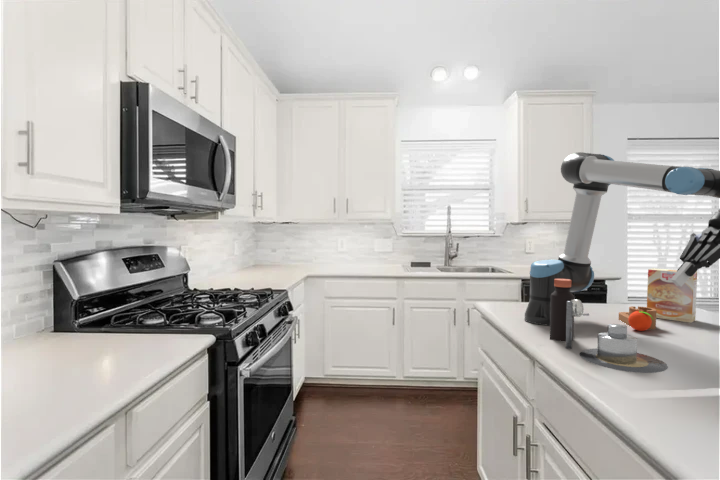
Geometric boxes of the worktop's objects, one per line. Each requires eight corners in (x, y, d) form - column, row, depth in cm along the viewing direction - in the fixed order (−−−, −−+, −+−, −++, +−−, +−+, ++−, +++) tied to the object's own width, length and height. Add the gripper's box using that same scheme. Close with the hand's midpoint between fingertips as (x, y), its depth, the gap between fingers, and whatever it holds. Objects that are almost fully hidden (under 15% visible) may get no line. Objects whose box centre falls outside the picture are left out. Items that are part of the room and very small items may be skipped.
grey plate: (564, 353, 121) (564, 349, 121) (628, 351, 123) (628, 347, 123) (613, 378, 101) (613, 373, 101) (688, 375, 103) (688, 371, 103)
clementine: (659, 332, 145) (659, 312, 145) (647, 334, 142) (648, 314, 142) (635, 327, 153) (635, 308, 152) (623, 329, 149) (624, 309, 149)
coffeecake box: (646, 316, 171) (647, 269, 170) (650, 314, 175) (652, 267, 175) (692, 323, 160) (694, 272, 159) (695, 320, 164) (697, 271, 164)
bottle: (550, 343, 131) (551, 280, 130) (549, 338, 137) (550, 277, 136) (574, 346, 128) (576, 281, 127) (572, 340, 134) (573, 278, 134)
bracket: (660, 330, 149) (660, 311, 149) (634, 329, 151) (634, 310, 150) (638, 319, 166) (638, 302, 166) (615, 318, 168) (615, 301, 168)
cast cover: (590, 353, 117) (591, 321, 116) (621, 353, 117) (622, 321, 117) (611, 364, 108) (611, 330, 107) (644, 364, 108) (645, 329, 108)
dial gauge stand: (557, 349, 124) (558, 298, 124) (582, 349, 125) (583, 297, 125) (567, 355, 120) (568, 301, 119) (593, 354, 120) (594, 300, 120)
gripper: (701, 209, 121) (648, 270, 120) (747, 209, 108) (687, 278, 107) (718, 226, 121) (664, 287, 121) (765, 228, 109) (706, 297, 108)
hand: (675, 283), depth 114 cm, fingers closed
